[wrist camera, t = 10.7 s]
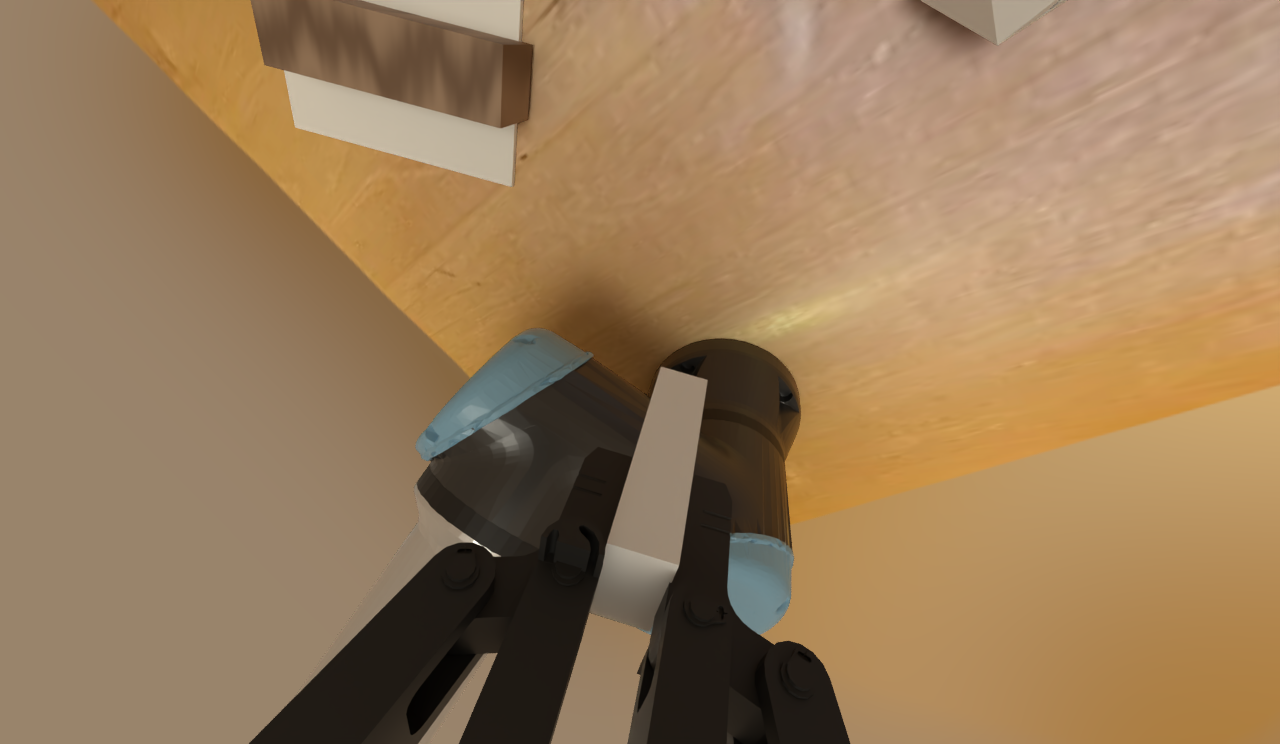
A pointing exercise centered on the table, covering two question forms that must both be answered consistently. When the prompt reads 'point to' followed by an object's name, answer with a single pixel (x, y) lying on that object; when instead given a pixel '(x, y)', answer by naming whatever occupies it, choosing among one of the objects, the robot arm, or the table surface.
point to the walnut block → (399, 57)
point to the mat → (410, 129)
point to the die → (995, 15)
